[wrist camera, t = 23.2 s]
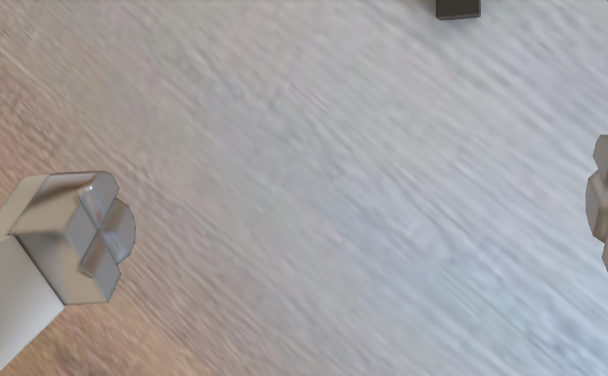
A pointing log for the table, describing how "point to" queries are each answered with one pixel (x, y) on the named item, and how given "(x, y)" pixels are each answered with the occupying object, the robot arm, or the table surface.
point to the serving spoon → (457, 9)
